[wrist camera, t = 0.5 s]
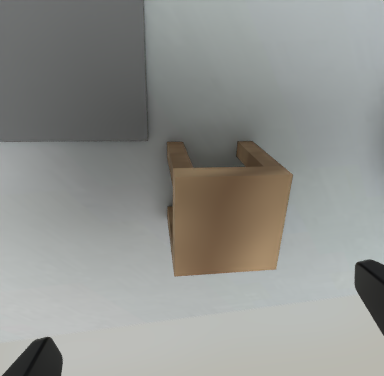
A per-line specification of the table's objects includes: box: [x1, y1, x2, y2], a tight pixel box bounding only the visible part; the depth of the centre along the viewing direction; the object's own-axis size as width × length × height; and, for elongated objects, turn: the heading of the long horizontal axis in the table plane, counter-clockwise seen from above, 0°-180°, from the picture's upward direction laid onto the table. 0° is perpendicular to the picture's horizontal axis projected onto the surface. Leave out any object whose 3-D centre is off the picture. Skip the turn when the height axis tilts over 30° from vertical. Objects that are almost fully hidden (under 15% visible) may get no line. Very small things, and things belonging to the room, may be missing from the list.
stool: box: [167, 141, 293, 276], centre depth 17 cm, size 6×6×6 cm
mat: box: [0, 0, 148, 142], centre depth 16 cm, size 10×10×1 cm
